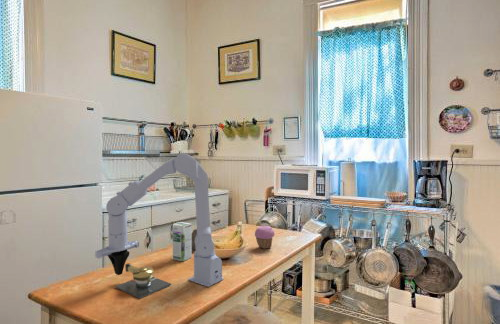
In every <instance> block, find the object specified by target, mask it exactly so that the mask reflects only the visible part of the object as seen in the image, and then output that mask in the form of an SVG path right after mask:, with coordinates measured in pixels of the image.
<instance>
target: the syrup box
mask: <svg viewBox="0 0 500 324" xmlns="http://www.w3.org/2000/svg"><path fill="white" fill-rule="evenodd" d="M192 227H193V225H192V222H183V221H178V222H175V223H173V224H172V260H173V261H179V262H185V261H187V260H190V259H191V258H192V256H193V254H192V251H193V250H192V232H193V231H192V230H193V229H192Z"/></svg>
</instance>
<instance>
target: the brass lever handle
mask: <svg viewBox="0 0 500 324" xmlns="http://www.w3.org/2000/svg"><path fill="white" fill-rule="evenodd" d="M124 268H125V272H127V273H128V272H129V273H132V279H136V280H146V279H149V278H152V277H154V276H155V274H154V271H155V269H154V268H153V267H150V266H143V267H136V266H133V265H132V263H125V265H124Z"/></svg>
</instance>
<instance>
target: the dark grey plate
mask: <svg viewBox="0 0 500 324" xmlns="http://www.w3.org/2000/svg"><path fill="white" fill-rule="evenodd" d="M170 285H171V286H172V283H171V282H168V281H165V280H163V279H160V278H158V277H156V276H155V277H154V276H153V277H152V278H149V279H146V280H136V279H134V278H132V279H129V280H128V281H126V282H122V283H121V284H120V283H119V284H118V285H115V287H116V288H115V287H114V288H115V289H117V288H118V289H117V290H119V289H120V290H119V291H121V290H122V291H121V292H123V291H124V292H123V293H126V294H128V295H130V296H132V295H133V296H132V297H135V298H137V299H139V300H141V299H143V298H146V297H147V295H148V296H150V295H152V294H155V293H157V292H159V291H162V290H164V289H166V288H168V287H171V286H170ZM163 288H164V289H163ZM161 289H162V290H161ZM156 291H157V292H156ZM154 292H155V293H154ZM149 294H150V295H149ZM145 296H146V297H145Z"/></svg>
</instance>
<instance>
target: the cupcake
mask: <svg viewBox="0 0 500 324" xmlns="http://www.w3.org/2000/svg"><path fill="white" fill-rule="evenodd" d="M254 237H255V240H256V242H257V246H258V248H260V249H261V248H262V249H264V250H266V249H270V248H271V247H272V243H273V237H275V230H274V229H273V228H272V227H271V226H269V225H261V226H258V227H257V228H256V230H255V232H254Z"/></svg>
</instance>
